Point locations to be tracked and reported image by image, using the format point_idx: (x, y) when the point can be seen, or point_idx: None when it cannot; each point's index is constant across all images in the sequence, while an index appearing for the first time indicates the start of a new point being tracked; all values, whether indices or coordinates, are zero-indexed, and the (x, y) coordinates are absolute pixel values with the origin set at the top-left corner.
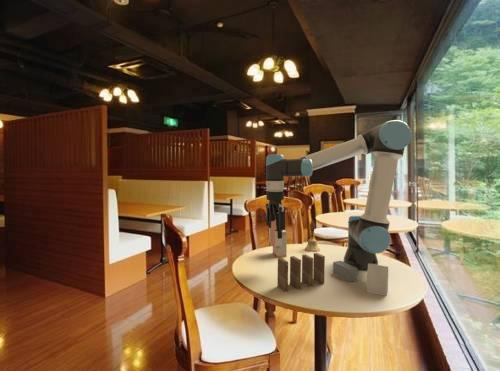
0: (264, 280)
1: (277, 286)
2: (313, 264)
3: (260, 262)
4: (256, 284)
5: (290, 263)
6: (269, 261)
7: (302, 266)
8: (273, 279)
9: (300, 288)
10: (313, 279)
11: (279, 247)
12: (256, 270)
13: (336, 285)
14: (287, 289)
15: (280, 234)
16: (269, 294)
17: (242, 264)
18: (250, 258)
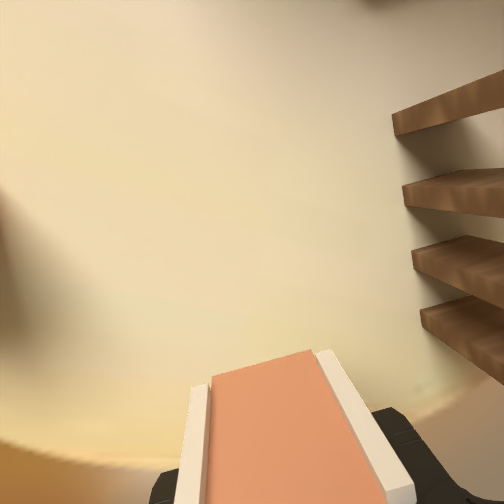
0: (347, 366)
1: (422, 326)
2: (452, 120)
3: (95, 350)
4: (380, 402)
5: (499, 304)
6: (79, 297)
7: (467, 211)
8: (345, 327)
9: (467, 235)
10: (399, 134)
11: (314, 357)
12: None
13: (488, 40)
14: (478, 299)
15: (421, 461)
16: (478, 368)
17: (122, 441)
18: (16, 395)
